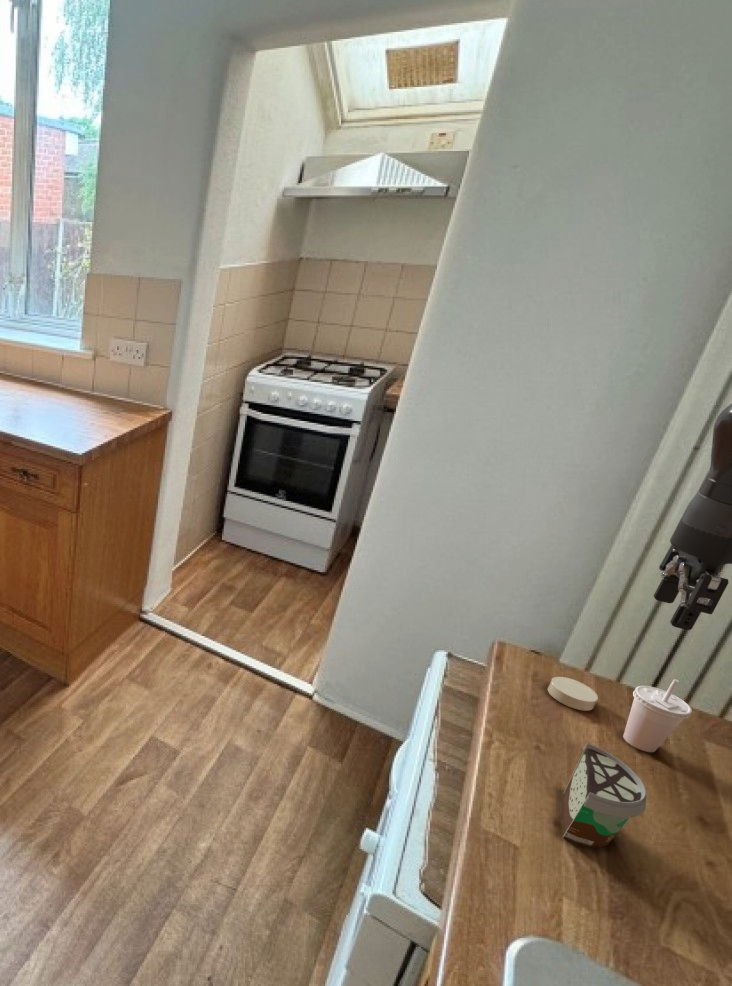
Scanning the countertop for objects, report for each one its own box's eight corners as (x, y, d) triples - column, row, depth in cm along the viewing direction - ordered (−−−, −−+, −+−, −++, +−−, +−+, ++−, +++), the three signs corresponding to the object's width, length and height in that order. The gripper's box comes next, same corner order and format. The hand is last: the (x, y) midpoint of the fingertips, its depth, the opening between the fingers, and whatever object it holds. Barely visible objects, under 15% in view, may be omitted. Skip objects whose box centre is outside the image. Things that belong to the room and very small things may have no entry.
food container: (624, 878, 79) (656, 825, 75) (561, 846, 83) (589, 795, 79) (618, 815, 88) (647, 764, 84) (562, 789, 91) (587, 740, 88)
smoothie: (616, 748, 99) (652, 681, 94) (607, 723, 104) (641, 658, 99) (671, 767, 95) (712, 699, 90) (659, 740, 100) (697, 674, 95)
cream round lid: (599, 706, 107) (604, 695, 107) (582, 717, 105) (588, 706, 104) (556, 683, 113) (561, 672, 112) (539, 693, 110) (544, 682, 109)
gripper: (777, 553, 83) (721, 646, 89) (735, 514, 94) (688, 600, 100) (699, 537, 87) (651, 627, 93) (668, 502, 98) (626, 585, 104)
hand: (670, 613), depth 97 cm, fingers open, 8 cm apart
